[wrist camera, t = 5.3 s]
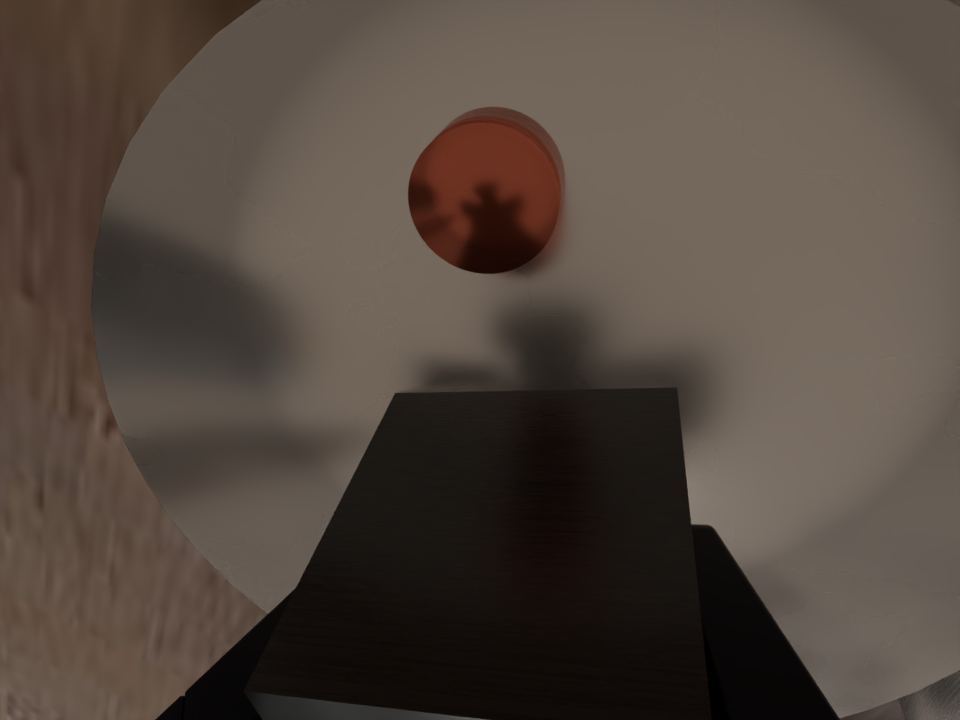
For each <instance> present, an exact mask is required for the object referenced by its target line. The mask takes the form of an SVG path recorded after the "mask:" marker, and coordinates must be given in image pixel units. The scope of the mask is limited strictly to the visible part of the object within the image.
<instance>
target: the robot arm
mask: <svg viewBox="0 0 960 720" xmlns="http://www.w3.org/2000/svg"><path fill="white" fill-rule="evenodd" d="M691 526H692V536H693V545H694V555H695V564H696V574H697V584H698V593H699V603H700V612H701V622H702V631H703V641H704V651H705V660H706V670H707V679H708V689H709V698H710V708H711V718H712V720H840V718H839V717H838V715H837V714H836V712H835V711H834V709H833V708H832V706H831V705H830V703H829V702H828V700H827V698H826V697H825V695H824V694H823V692H822V691H821V689H820V688H819V686H818V685H817V683H816V682H815V680H814V679H813V677H812V676H811V674H810V673H809V671H808V670H807V668H806V667H805V665H804V664H803V662H802V660H801V659H800V657H799V656H798V654H797V653H796V651H795V650H794V648H793V647H792V645H791V644H790V642H789V641H788V639H787V638H786V636H785V635H784V633H783V632H782V630H781V629H780V627H779V626H778V624H777V623H776V621H775V619H774V618H773V616H772V615H771V613H770V612H769V610H768V609H767V607H766V606H765V604H764V603H763V601H762V600H761V598H760V597H759V595H758V594H757V592H756V591H755V589H754V588H753V586H752V585H751V583H750V581H749V580H748V578H747V577H746V575H745V574H744V572H743V571H742V569H741V568H740V566H739V565H738V563H737V562H736V560H735V559H734V557H733V556H732V554H731V553H730V551H729V550H728V548H727V547H726V545H725V544H724V542H723V540H722V539H721V537H720V536H719V534H718V533H717V531H716V530H715V529H714V528H713V527H712V526H710V525H703V524H691ZM295 589H296V588H295ZM295 589H294V590H293V591H292V592H291V593H290V594H289V595H287V596H286V597H285V598H284V599H283V600H282V601H281V602H280V603H279V604H278V605H277V606H276V607H275V608H274V609H273V610H272V611H271V612H269V613H268V614H267V615H266V616H265V617H264V618H263V619H262V620H261V621H260V622H259V623H258V624H257V625H256V626H255V627H254V628H252V629H251V630H250V631H249V632H248V633H247V634H246V635H245V636H244V637H243V638H242V639H241V640H240V641H239V642H238V643H237V644H235V645H234V646H233V647H232V648H231V649H230V650H229V651H228V652H227V653H226V654H225V655H224V656H223V657H222V658H221V659H220V660H219V661H217V662H216V663H215V664H214V665H213V666H212V667H211V668H210V669H209V670H208V671H207V672H206V673H205V674H204V675H203V676H202V677H200V678H199V679H198V680H197V681H196V682H195V683H194V684H193V685H192V686H191V687H190V688H189V689H188V690H187V691H186V693H185V696H180V697H179V698H178V699H177V700H176V701H175V702H174V703H173V704H172V705H170V706H169V707H168V708H167V709H166V710H165V711H164V712H163V713H162V714H161V715H160V716H159V717H158V718H157V719H156V720H262V718H261V717H260V715H259V714H258V712H257V711H256V709H255V708H254V706H253V705H252V703H251V702H250V700H249V699H248V697H247V696H246V694H245V693H244V689H245V687H246V685H247V683H248V681H249V679H250V677H251V675H252V673H253V671H254V669H255V667H256V665H257V663H258V662H259V660H260V658H261V656H262V654H263V652H264V650H265V648H266V646H267V644H268V642H269V640H270V638H271V636H272V634H273V632H274V630H275V628H276V626H277V624H278V622H279V620H280V618H281V616H282V614H283V612H284V610H285V608H286V606H287V604H288V602H289V601H290V599H291V597H292V595H293V593H294V591H295Z"/></svg>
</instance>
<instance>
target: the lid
mask: <svg viewBox="0 0 960 720" xmlns="http://www.w3.org/2000/svg"><path fill="white" fill-rule="evenodd" d="M91 306H92V316H93V325H94V334H95V344H96V353H97V358H98V362H99V366H100V370H101V374H102V378H103V382H104V386H105V390H106V394H107V397H108V401H109V404H110V406H111V409H112V411H113V414H114V416H115V419H116V421H117V424H118V427H119V429H120V432H121V434H122V437H123V439H124V442H125V444H126V446H127V448H128V450H129V452H130V453H131V455H132V457H133V459H134V461H135V463H136V464H137V466H138V468H139V470H140V472H141V474H142V475H143V477H144V479H145V481H146V483H147V485H148V486H149V487H150V489H151V490H152V492H153V493H154V495H155V496H156V498H157V499H158V500H159V502H160V503H161V505H162V506H163V508H164V509H165V511H166V512H167V513H168V515H169V516H170V518H171V519H172V521H173V522H174V523H175V524H176V525H177V527H178V528H179V529H180V530H181V531H182V532H183V534H184V535H185V536H186V537H187V538H188V540H189V541H190V542H191V543H192V544H193V545H194V547H195V548H196V549H197V550H198V551H199V552H200V554H201V555H202V556H203V557H204V558H205V559H206V560H207V561H208V562H209V563H210V564H211V565H213V566H214V567H215V568H216V569H217V570H218V571H219V572H220V573H221V574H222V575H223V576H224V577H225V578H226V579H227V580H228V581H229V582H230V583H231V584H232V585H233V586H234V587H235V588H237V589H238V590H239V591H240V592H241V593H243V594H244V595H245V596H246V597H247V598H249V599H250V600H251V601H252V602H253V603H255V604H256V605H257V606H258V607H259V608H261V609H262V610H263V611H264V612H266V613H267V614H268V613H269V612H271V611H272V610H273V609H274V608H275V607H276V606H277V605H278V604H279V603H280V602H281V601H282V600H283V599H284V598H285V597H286V596H287V595H289V594H290V593H291V592H292V591H293V590H294V589H295V588H296V589H295V591H294V593H293V595H292V597H291V599H290V601H289V602H288V604H287V606H286V608H285V610H284V612H283V614H282V616H281V618H280V620H279V622H278V624H277V626H276V628H275V630H274V632H273V634H272V636H271V638H270V640H269V642H268V644H267V646H266V648H265V650H264V652H263V654H262V656H261V658H260V660H259V662H258V663H257V665H256V667H255V669H254V671H253V673H252V675H251V677H250V679H249V681H248V683H247V685H246V687H245V689H244V693H245V694H246V696H247V697H248V699H249V700H250V702H251V703H252V705H253V706H254V708H255V709H256V711H257V712H258V714H259V715H260V717H261V718H262V720H712V718H711V708H710V698H709V689H708V679H707V670H706V660H705V651H704V641H703V631H702V622H701V612H700V603H699V593H698V584H697V574H696V564H695V555H694V545H693V536H692V526H691V524H703V525H710V526H712V527H713V528H714V529H715V530H716V531H717V533H718V534H719V536H720V537H721V539H722V540H723V542H724V544H725V545H726V547H727V548H728V550H729V551H730V553H731V554H732V556H733V557H734V559H735V560H736V562H737V563H738V565H739V566H740V568H741V569H742V571H743V572H744V574H745V575H746V577H747V578H748V580H749V581H750V583H751V585H752V586H753V588H754V589H755V591H756V592H757V594H758V595H759V597H760V598H761V600H762V601H763V603H764V604H765V606H766V607H767V609H768V610H769V612H770V613H771V615H772V616H773V618H774V619H775V621H776V623H777V624H778V626H779V627H780V629H781V630H782V632H783V633H784V635H785V636H786V638H787V639H788V641H789V642H790V644H791V645H792V647H793V648H794V650H795V651H796V653H797V654H798V656H799V657H800V659H801V660H802V662H803V664H804V665H805V667H806V668H807V670H808V671H809V673H810V674H811V676H812V677H813V679H814V680H815V682H816V683H817V685H818V686H819V688H820V689H821V691H822V692H823V694H824V695H825V697H826V698H827V700H828V702H829V703H830V705H831V706H832V708H833V709H834V711H835V712H836V714H837V715H838V717H839V718H841V717H845V716H848V715H852V714H856V713H859V712H863V711H866V710H869V709H872V708H874V707H877V706H880V705H882V704H885V703H888V702H890V701H893V700H895V699H898V698H901V697H903V696H906V695H909V694H911V693H914V692H916V691H919V690H921V689H923V688H925V687H927V686H929V685H931V684H933V683H935V682H937V681H939V680H941V679H943V678H945V677H947V676H949V675H951V674H953V673H955V672H957V671H959V670H960V7H958V6H956V5H955V4H953V3H951V2H950V1H948V0H261V1H260V2H258V3H257V4H256V5H254V6H253V7H252V8H250V9H249V10H248V11H246V12H245V13H244V14H242V15H241V16H240V17H238V18H237V19H236V20H234V21H233V22H232V23H230V24H229V25H228V26H226V27H225V28H223V29H222V30H221V31H219V32H218V33H217V34H215V35H214V36H213V37H212V38H211V39H210V41H209V42H208V43H207V44H206V45H205V46H204V47H203V48H202V49H201V50H200V51H199V52H198V53H197V54H196V55H195V57H194V58H193V59H192V60H191V61H190V62H189V63H188V64H187V65H186V66H185V67H184V68H183V69H182V70H181V71H180V73H179V74H178V75H177V76H176V77H175V78H174V79H173V80H172V81H171V82H170V83H169V84H168V85H167V86H166V87H165V89H164V90H163V92H162V93H161V95H160V96H159V98H158V99H157V101H156V103H155V104H154V106H153V107H152V109H151V110H150V112H149V113H148V115H147V117H146V118H145V120H144V121H143V123H142V124H141V126H140V127H139V129H138V130H137V132H136V134H135V135H134V137H133V138H132V140H131V141H130V143H129V145H128V147H127V150H126V152H125V155H124V157H123V159H122V162H121V164H120V167H119V169H118V171H117V174H116V176H115V179H114V181H113V184H112V186H111V188H110V191H109V193H108V196H107V198H106V202H105V206H104V211H103V215H102V220H101V224H100V229H99V233H98V238H97V242H96V247H95V252H94V264H93V285H92V305H91Z"/></svg>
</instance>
